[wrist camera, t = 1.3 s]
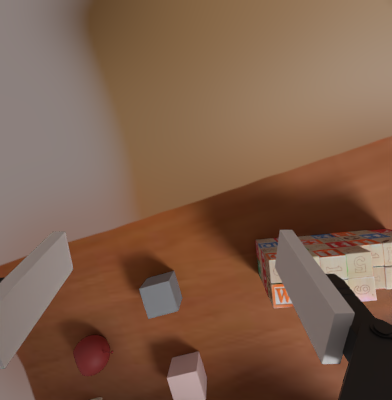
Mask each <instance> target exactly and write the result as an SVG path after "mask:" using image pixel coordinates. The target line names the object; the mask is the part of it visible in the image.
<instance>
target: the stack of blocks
mask: <svg viewBox="0 0 392 400" xmlns="http://www.w3.org/2000/svg"><path fill="white" fill-rule="evenodd" d="M298 238H299V240H300V241H301V242H302V244H303V245H304V246H305V248H306V249H307V250H308V252H309V253H310V254H311V255H312V257H313V258H314V259H315V261H316V262H317V263H318V265H319V266H320V267H321V269H322V270H323V271H324V273H325V274H336V275H337V276H338V277H340V278H341V279H343V280H344V281H345V282H346V283H347V285H348V286H349V287H350V289H352V291H353V292H354V293H355V295H356V296H357V297H358V298H359V299H360V300H361V302H363V301H373V300H377V298H376V289H392V230H390V229H379V230H363V231H351V232H339V233H330V234H321V235H311V236H299V237H298ZM278 239H279V238H269V239H257V240H255V243H256V253H257V259H258V270H259V276H260V278H261V280H262V282H263V285H264V287H265V290H266V292H267V295H268V297H269V298H270V301H271V303H272V305H273V308H283V307H294V306H293V304H292V302H291V299H290V297H289V295H288V293H287V291H286V289H285V287H284V285H283V283H282V281H281V279H280V277H279V275H278V273H277V271H276V269H275V261H276V254H277V246H278Z"/></svg>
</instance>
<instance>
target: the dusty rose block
mask: <svg viewBox="0 0 392 400" xmlns="http://www.w3.org/2000/svg"><path fill="white" fill-rule="evenodd" d="M167 380H168V384H169V387H170V390H171V393H172V396H173V399H174V400H206V388H207V376H206V373H205V370H204V366H203V363H202V360H201V357H200V353H199V351H198V352H194V353H190V354H186V355H181V356H177V357H173V358H172V360H171V364H170V368H169V372H168V375H167Z"/></svg>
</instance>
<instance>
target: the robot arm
mask: <svg viewBox="0 0 392 400" xmlns="http://www.w3.org/2000/svg"><path fill="white" fill-rule="evenodd" d="M275 269H276V271H277V273H278V275H279V277H280V279H281V281H282V283H283V285H284V287H285V289H286V291H287V293H288V295H289V297H290V299H291V302H292V304H293V306H294V308H295V310H296V312H297V314H298V316H299V318H300V320H301V322H302V324H303V326H304V328H305V330H306V332H307V334H308V336H309V339H310V341H311V343H312V345H313V347H314V349H315V351H316V353H317V355H318V357H319V359H320V361H321V363H322V364H340V362H341V359H342V356H343V354H344V356H345V357H346V359H347V361H348V362H349V364H348V367H347V370H346V373H345V376H344V380H343V384H342V388H341V391H340V395H339V398H338V400H392V325H391V324H389V323H387V322H385V321H383V320H380V319H377V318H375V317H374V316H373V315H372V314H371V312H370V311H369V310H368V309H367V308H366V306H365V305H364V304H363V303H362V302H361V300H360V299H359V298H358V297H357V296H356V295H355V293H354V292H353V291H352V289H350V287H349V286H348V285H347V283H346V282H345V281H344V280H343V279H341V278H340V277H338V276H337V275H336V274H325V273H324V271H323V270H322V269H321V267H320V266H319V265H318V263H317V262H316V261H315V259H314V258H313V257H312V255H311V254H310V253H309V252H308V250H307V249H306V248H305V246H304V245H303V244H302V242H301V241H300V240H299V238H298V237H297V236H296V234H295V233H294V232H293V230H280V232H279V239H278V246H277V254H276V261H275ZM72 270H73V265H72V261H71V256H70V251H69V247H68V242H67V237H66V232H52V233H51V234H50V235H49V236H48V237H47V238H46V239H45V240H44V241H42V243H40V244H39V245H38V247H36V248H35V249H34V250H33V251H32V252H31V253H30V254H29V255H28V256H27V257H26V258H25V259H24V260H23V261H22V262H21V263H20V264H19V265H18V266H17V267H16V268H15V269H14V270H13V271H12V272H11V273H10V274H9V275H8V276H6V277H5V278H0V369H5V368H6V366H7V365H8V364H9V362H10V360H11V359H12V358H13V356H14V355H15V353H16V352H17V350H18V349H19V348H20V346H21V345H22V343H23V342H24V340H25V339H26V337H27V336H28V334H29V333H30V331H31V330H32V329H33V327H34V326H35V324H36V323H37V321H38V320H39V318H40V317H41V315H42V314H43V313H44V311H45V310H46V308H47V307H48V305H49V304H50V302H51V301H52V299H53V298H54V296H55V295H56V294H57V292H58V291H59V289H60V288H61V286H62V285H63V283H64V282H65V280H66V279H67V278H68V276H69V275H70V273H71V272H72Z"/></svg>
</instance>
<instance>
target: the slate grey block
mask: <svg viewBox="0 0 392 400" xmlns="http://www.w3.org/2000/svg"><path fill="white" fill-rule="evenodd" d="M139 290H140V294H141V297H142V300H143V303H144V306H145V310H146V313H147V316H148V319H150V318H153V317H157V316H161V315H165V314H169V313H173V312H176V311H178V310H179V307H180V304H181V301H182V295H181V292H180V288H179V285H178V282H177V279H176V275H175V272H174V271H171V272H168V273H164V274H160V275H157V276H153V277H149V278H147V279H146V281H145V282H144V283H143V284H142V286H141V287H140V288H139Z"/></svg>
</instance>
